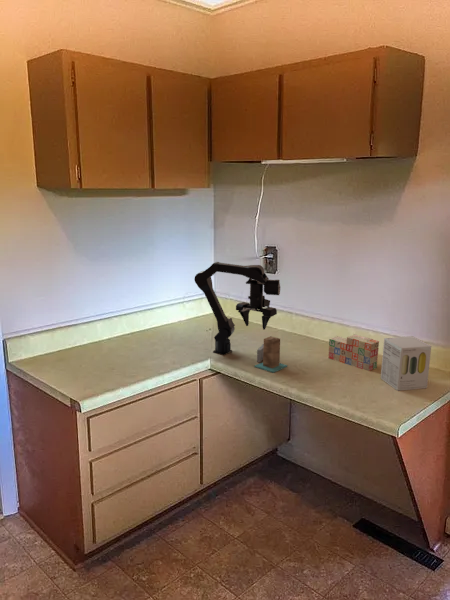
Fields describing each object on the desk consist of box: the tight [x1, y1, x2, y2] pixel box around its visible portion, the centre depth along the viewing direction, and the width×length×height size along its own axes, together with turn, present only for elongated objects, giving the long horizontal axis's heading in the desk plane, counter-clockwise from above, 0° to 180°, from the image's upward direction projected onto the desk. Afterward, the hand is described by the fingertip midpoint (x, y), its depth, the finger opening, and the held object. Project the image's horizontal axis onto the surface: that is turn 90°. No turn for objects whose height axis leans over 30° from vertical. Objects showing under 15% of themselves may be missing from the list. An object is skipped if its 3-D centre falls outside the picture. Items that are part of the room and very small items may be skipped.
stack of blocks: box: [328, 334, 380, 372], centre depth 237 cm, size 21×6×12 cm, turn 43°
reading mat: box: [254, 361, 288, 374], centre depth 232 cm, size 10×10×1 cm
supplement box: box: [380, 335, 432, 391], centre depth 214 cm, size 13×13×18 cm
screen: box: [256, 343, 264, 363], centre depth 243 cm, size 2×13×6 cm, turn 159°
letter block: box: [262, 335, 281, 368], centre depth 231 cm, size 5×5×12 cm
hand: (255, 327), depth 244 cm, fingers open, 9 cm apart
